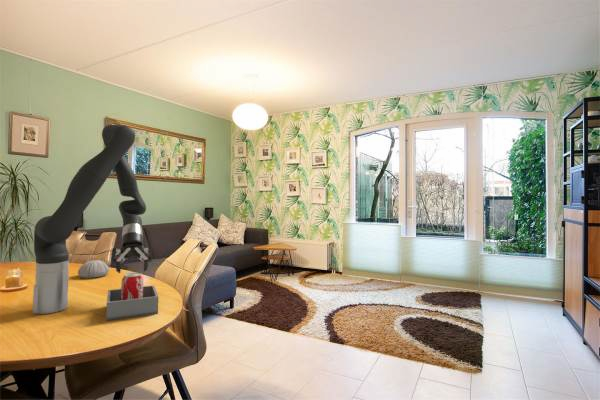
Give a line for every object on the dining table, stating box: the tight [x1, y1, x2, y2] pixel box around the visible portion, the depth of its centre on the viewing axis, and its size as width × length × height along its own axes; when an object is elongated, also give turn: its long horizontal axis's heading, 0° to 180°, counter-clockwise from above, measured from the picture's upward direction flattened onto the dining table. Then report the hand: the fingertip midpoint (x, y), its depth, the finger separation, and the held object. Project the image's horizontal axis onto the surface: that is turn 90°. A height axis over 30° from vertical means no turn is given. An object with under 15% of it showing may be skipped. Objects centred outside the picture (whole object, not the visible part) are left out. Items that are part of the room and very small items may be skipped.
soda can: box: [120, 272, 144, 300], centre depth 114 cm, size 7×7×12 cm
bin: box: [105, 285, 159, 322], centre depth 114 cm, size 16×16×6 cm
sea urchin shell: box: [77, 259, 110, 279], centre depth 158 cm, size 13×14×8 cm
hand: (132, 271), depth 119 cm, fingers open, 8 cm apart
